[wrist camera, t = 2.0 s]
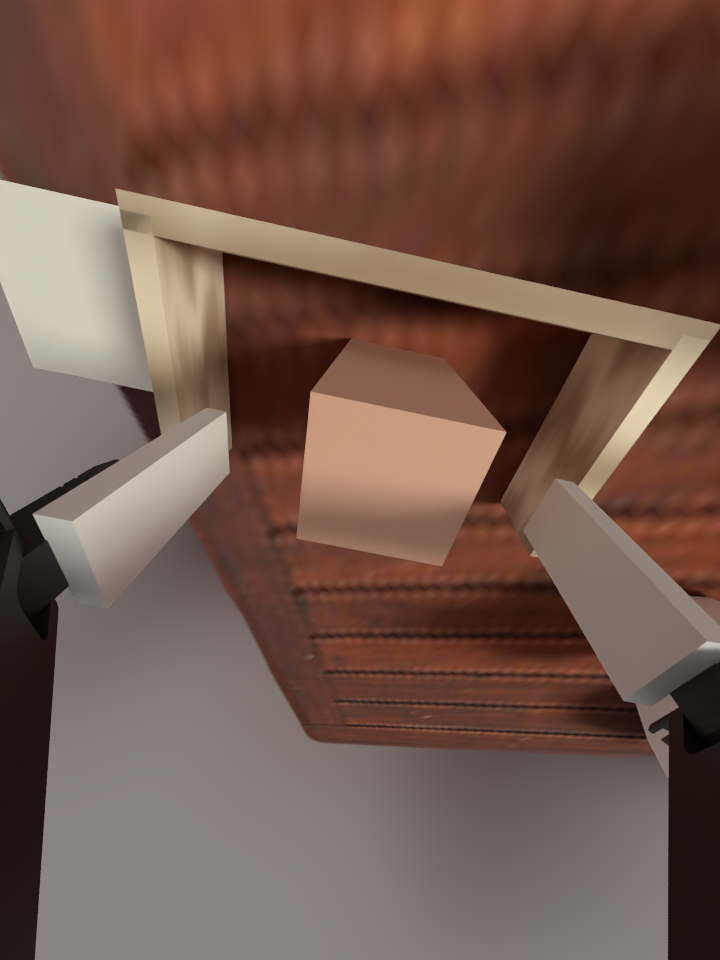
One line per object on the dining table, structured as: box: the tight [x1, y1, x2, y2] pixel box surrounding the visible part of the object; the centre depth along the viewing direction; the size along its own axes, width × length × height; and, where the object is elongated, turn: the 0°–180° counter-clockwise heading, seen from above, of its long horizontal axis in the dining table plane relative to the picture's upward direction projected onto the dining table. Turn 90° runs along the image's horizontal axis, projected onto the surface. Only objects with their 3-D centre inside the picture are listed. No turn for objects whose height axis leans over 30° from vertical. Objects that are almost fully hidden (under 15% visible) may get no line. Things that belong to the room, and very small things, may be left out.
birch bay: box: [116, 189, 720, 557], centre depth 18 cm, size 14×24×6 cm, turn 79°
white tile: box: [0, 180, 153, 392], centre depth 19 cm, size 10×9×1 cm
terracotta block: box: [297, 338, 506, 566], centre depth 16 cm, size 6×6×12 cm
